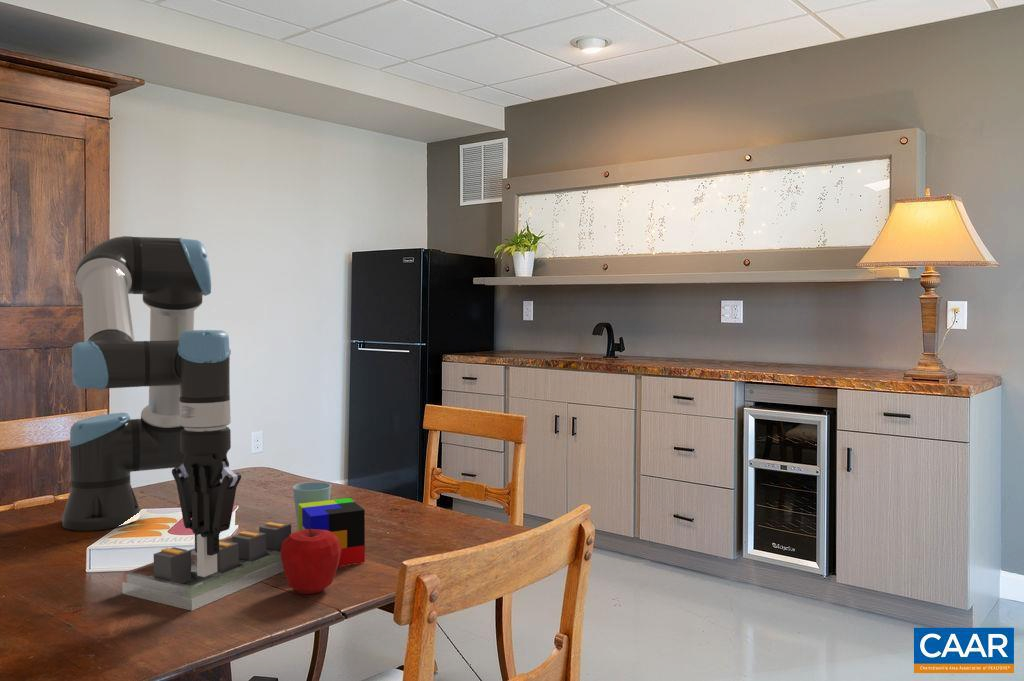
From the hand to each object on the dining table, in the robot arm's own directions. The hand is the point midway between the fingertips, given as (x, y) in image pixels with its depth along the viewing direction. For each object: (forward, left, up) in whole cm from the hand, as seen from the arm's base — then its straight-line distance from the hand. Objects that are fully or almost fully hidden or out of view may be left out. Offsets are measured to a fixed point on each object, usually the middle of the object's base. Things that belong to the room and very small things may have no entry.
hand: (207, 573), depth 126 cm
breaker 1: (-8, 0, -3) cm, 8 cm away
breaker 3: (-4, +13, -3) cm, 14 cm away
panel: (-8, +10, -5) cm, 13 cm away
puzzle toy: (+3, +27, -5) cm, 27 cm away
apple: (+11, +12, -5) cm, 17 cm away
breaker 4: (-4, +20, -3) cm, 20 cm away
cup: (-10, +37, -5) cm, 38 cm away
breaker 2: (-4, +7, -3) cm, 8 cm away
